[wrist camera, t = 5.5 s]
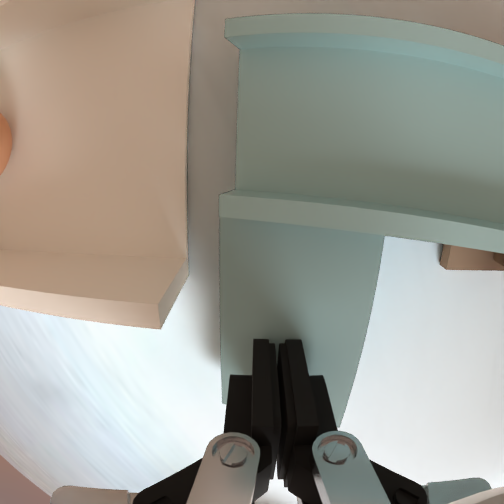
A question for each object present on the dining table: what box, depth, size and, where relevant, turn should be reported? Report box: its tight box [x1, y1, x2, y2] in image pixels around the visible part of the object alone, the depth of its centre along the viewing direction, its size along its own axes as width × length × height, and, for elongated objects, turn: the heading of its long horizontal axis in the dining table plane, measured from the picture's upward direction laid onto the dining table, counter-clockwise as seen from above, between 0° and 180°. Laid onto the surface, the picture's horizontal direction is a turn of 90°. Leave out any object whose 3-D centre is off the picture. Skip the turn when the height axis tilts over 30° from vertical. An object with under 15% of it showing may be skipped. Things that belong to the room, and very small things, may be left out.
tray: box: [0, 0, 195, 329], centre depth 9 cm, size 12×12×4 cm
